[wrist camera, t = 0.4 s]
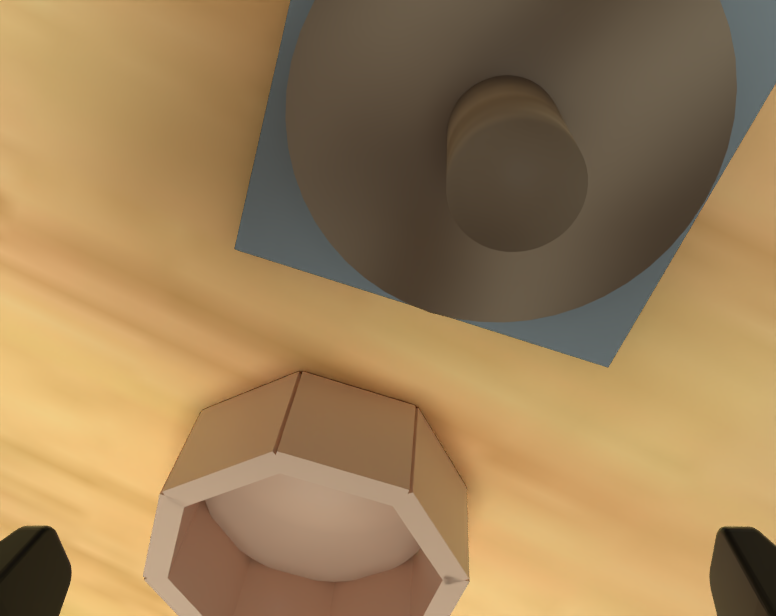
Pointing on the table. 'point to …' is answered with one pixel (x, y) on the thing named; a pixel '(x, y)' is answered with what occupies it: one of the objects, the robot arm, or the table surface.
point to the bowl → (310, 509)
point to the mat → (558, 332)
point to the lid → (508, 143)
